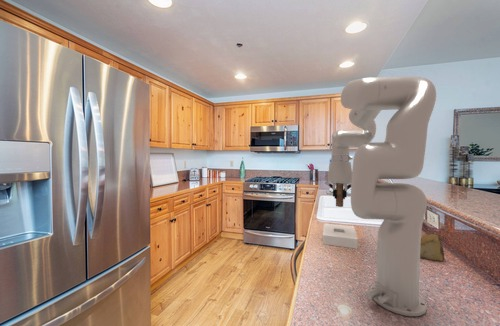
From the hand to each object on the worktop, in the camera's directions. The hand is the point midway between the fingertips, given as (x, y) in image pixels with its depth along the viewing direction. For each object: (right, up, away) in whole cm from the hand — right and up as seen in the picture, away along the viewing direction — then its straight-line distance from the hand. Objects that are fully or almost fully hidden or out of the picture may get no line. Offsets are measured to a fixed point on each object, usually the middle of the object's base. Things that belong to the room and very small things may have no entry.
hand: (339, 198), depth 101 cm
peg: (0, -4, 0) cm, 4 cm away
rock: (+26, -20, -17) cm, 37 cm away
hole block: (0, -19, +1) cm, 19 cm away
